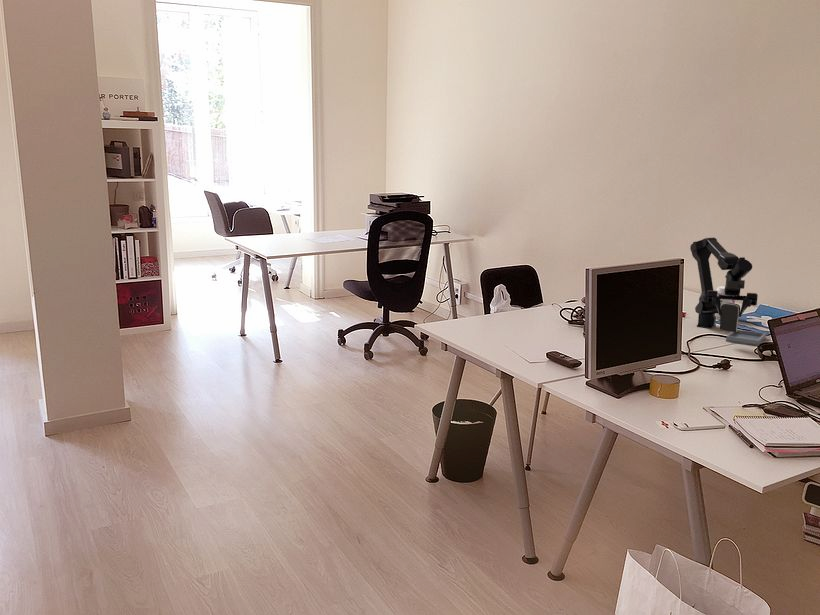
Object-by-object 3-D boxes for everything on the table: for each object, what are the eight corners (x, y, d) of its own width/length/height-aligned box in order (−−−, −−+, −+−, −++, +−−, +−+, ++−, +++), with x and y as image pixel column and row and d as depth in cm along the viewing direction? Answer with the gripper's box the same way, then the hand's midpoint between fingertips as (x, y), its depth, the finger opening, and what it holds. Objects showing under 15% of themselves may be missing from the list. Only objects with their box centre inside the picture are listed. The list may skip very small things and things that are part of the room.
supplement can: (734, 317, 325) (737, 286, 321) (732, 321, 318) (734, 289, 315) (716, 315, 329) (718, 284, 326) (713, 319, 323) (715, 288, 319)
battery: (739, 330, 281) (742, 303, 278) (736, 333, 278) (738, 305, 275) (722, 327, 286) (724, 301, 283) (718, 330, 283) (720, 303, 280)
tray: (725, 341, 290) (726, 336, 290) (734, 334, 299) (734, 329, 299) (758, 345, 282) (758, 340, 282) (765, 338, 292) (765, 333, 291)
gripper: (708, 271, 283) (704, 303, 277) (759, 273, 275) (756, 307, 269) (708, 285, 292) (705, 317, 286) (757, 288, 284) (755, 321, 277)
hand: (730, 315), depth 279 cm, fingers closed on battery, 7 cm apart
